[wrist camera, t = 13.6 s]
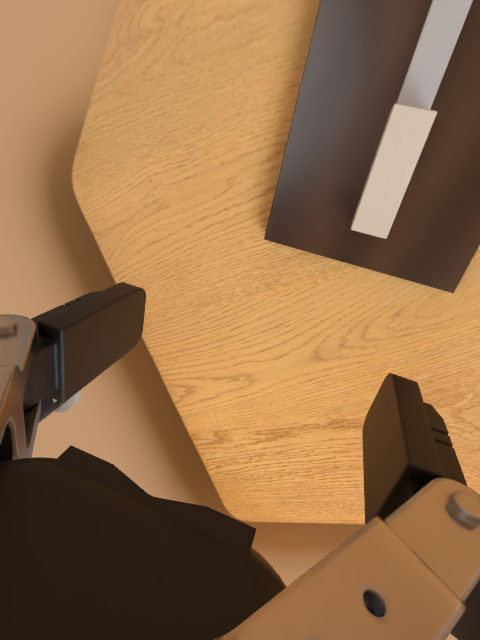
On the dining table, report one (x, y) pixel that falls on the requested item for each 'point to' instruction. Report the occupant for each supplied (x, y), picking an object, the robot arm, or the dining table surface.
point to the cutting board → (363, 140)
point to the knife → (409, 119)
